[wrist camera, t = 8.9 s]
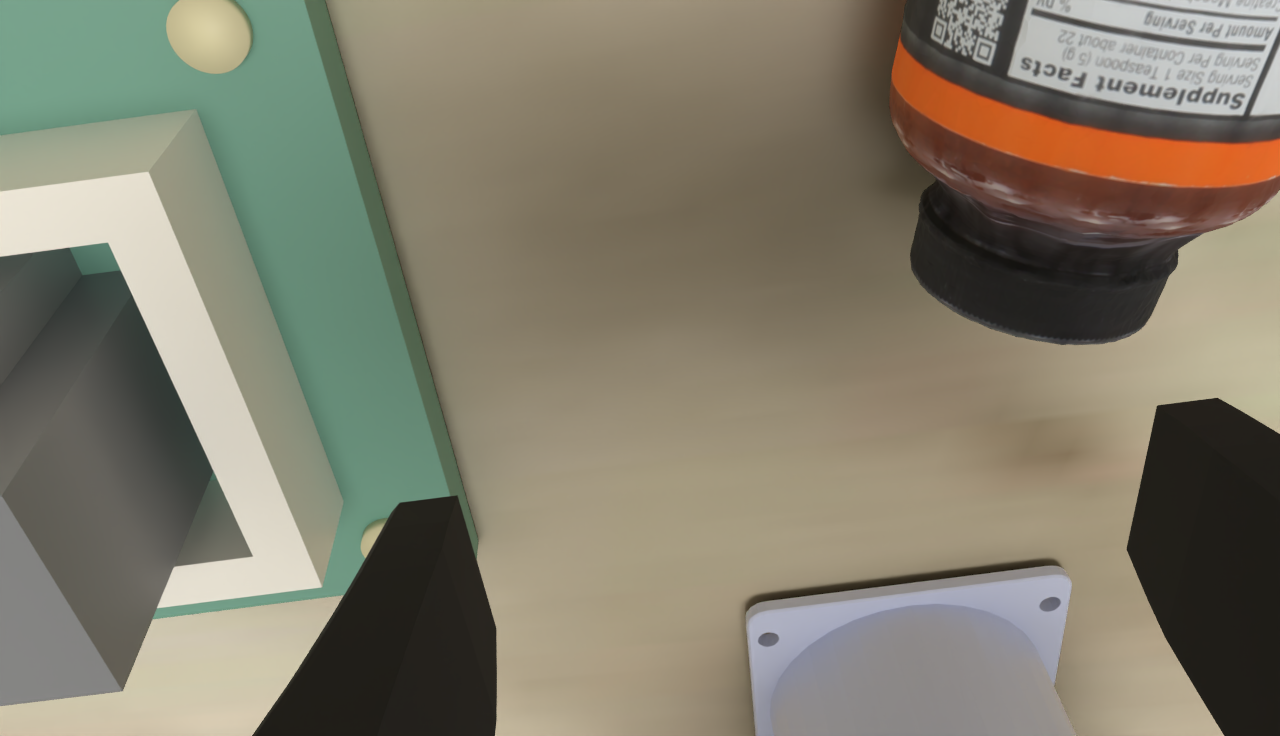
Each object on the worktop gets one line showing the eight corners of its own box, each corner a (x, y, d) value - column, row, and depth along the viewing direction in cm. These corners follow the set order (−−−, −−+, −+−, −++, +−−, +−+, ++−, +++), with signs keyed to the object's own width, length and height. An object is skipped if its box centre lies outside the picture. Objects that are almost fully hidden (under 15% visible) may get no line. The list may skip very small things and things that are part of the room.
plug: (225, 441, 21) (122, 690, 16) (26, 466, 21) (-137, 722, 16) (127, 216, 18) (-35, 436, 13) (-103, 245, 18) (-352, 476, 13)
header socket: (343, 501, 22) (322, 587, 20) (-15, 547, 22) (-71, 637, 20) (195, 108, 17) (148, 171, 15) (-265, 171, 17) (-372, 241, 15)
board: (478, 540, 24) (472, 605, 23) (-30, 604, 25) (-71, 674, 23) (295, -104, 16) (265, -75, 15) (-458, -1, 17) (-568, 40, 15)
